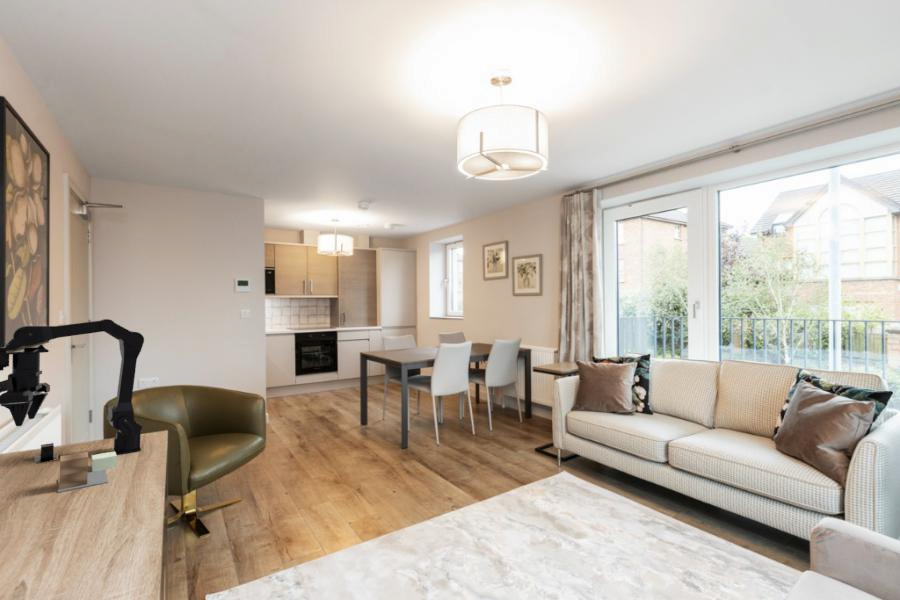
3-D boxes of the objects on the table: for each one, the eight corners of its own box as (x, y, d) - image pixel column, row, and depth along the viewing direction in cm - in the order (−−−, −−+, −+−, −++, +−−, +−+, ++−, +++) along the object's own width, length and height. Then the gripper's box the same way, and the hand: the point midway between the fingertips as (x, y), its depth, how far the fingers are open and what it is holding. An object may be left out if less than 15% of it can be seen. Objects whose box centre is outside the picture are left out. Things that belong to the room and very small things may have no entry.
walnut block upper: (86, 465, 117) (87, 451, 118) (87, 470, 113) (88, 456, 113) (59, 469, 114) (60, 456, 114) (59, 475, 110) (60, 461, 110)
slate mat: (104, 470, 124) (104, 469, 124) (108, 482, 115) (108, 481, 115) (58, 479, 117) (58, 478, 117) (57, 492, 108) (57, 491, 108)
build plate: (62, 462, 133) (63, 447, 133) (29, 468, 128) (30, 452, 128) (60, 452, 141) (61, 438, 142) (29, 457, 136) (30, 442, 137)
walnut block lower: (86, 478, 117) (86, 465, 117) (87, 484, 113) (87, 470, 113) (59, 483, 114) (59, 469, 114) (59, 489, 109) (59, 475, 110)
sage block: (114, 463, 131) (115, 451, 131) (116, 467, 127) (116, 455, 127) (91, 467, 127) (91, 455, 127) (92, 472, 123) (92, 459, 123)
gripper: (2, 367, 129) (1, 418, 129) (-29, 375, 113) (-30, 434, 112) (51, 364, 134) (50, 414, 134) (28, 372, 118) (27, 428, 118)
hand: (25, 422), depth 124 cm, fingers open, 9 cm apart
